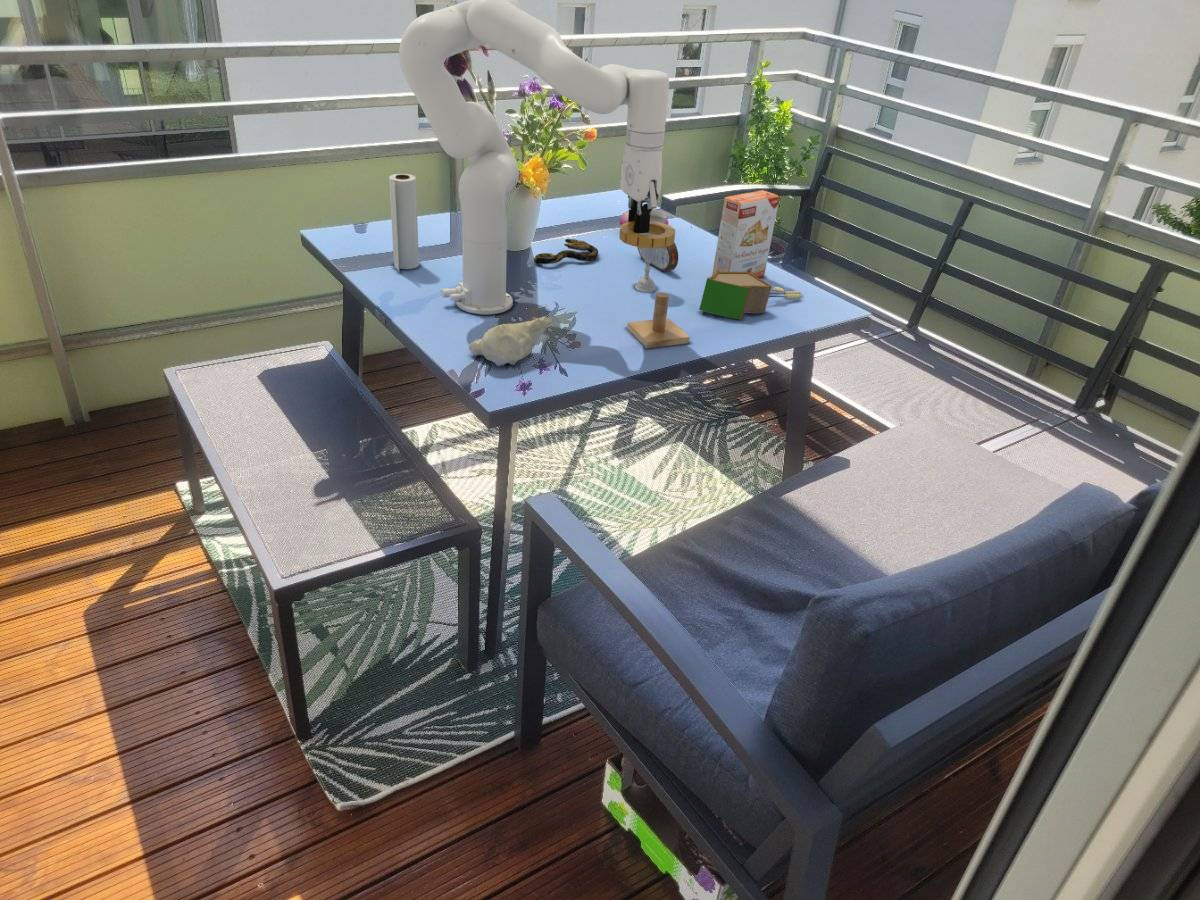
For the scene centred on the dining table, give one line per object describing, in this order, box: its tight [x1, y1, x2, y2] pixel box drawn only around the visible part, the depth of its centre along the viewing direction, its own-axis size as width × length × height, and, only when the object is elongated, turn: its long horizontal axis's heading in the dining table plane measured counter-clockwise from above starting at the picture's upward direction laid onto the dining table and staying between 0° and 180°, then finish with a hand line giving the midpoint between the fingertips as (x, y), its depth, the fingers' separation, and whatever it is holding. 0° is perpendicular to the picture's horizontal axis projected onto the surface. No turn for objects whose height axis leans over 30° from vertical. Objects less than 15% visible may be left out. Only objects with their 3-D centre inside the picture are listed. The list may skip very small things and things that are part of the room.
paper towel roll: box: [388, 173, 420, 272], centre depth 212 cm, size 7×6×21 cm
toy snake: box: [533, 238, 599, 265], centre depth 229 cm, size 18×5×10 cm
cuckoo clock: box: [699, 270, 802, 321], centre depth 212 cm, size 12×8×30 cm
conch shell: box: [468, 316, 554, 367], centre depth 179 cm, size 15×7×15 cm
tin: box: [636, 242, 679, 272], centre depth 228 cm, size 15×3×8 cm, turn 32°
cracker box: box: [711, 189, 781, 279], centre depth 221 cm, size 14×6×21 cm, turn 129°
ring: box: [619, 221, 676, 248], centre depth 183 cm, size 11×11×2 cm
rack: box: [626, 291, 691, 349], centre depth 193 cm, size 10×10×10 cm
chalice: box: [634, 208, 669, 293], centre depth 213 cm, size 7×7×18 cm
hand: (638, 229), depth 187 cm, fingers closed on ring, 2 cm apart
